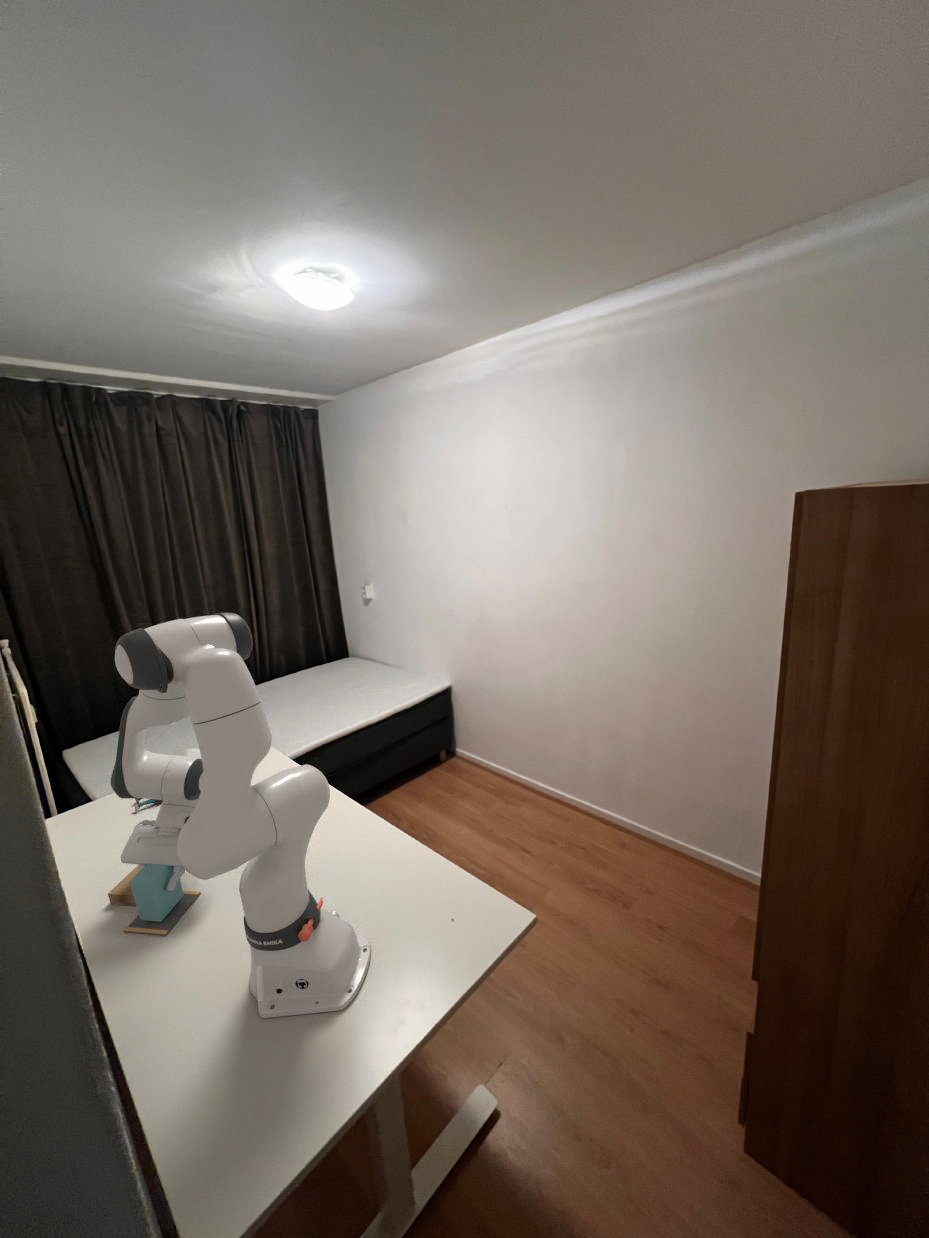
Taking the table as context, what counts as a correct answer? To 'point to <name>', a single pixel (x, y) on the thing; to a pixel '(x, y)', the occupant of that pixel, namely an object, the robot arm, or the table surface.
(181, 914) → the mat
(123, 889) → the block
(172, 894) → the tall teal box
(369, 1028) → the table surface
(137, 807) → the action figure
